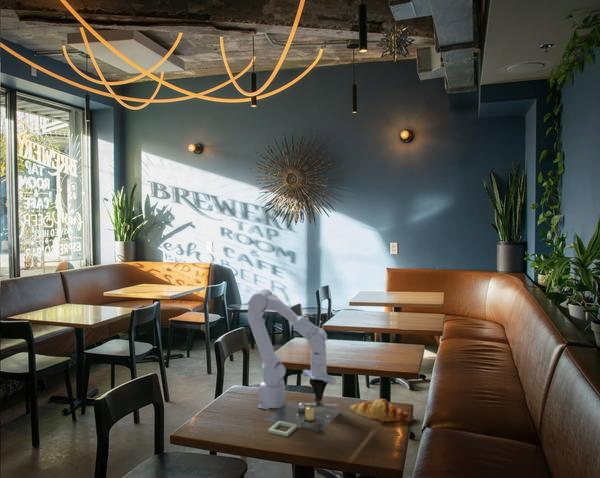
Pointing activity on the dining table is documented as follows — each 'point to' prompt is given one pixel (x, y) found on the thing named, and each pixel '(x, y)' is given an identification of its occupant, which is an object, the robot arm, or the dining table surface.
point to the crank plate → (303, 416)
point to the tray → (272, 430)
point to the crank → (314, 405)
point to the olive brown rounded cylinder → (309, 414)
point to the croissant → (379, 410)
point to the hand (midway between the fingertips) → (319, 398)
